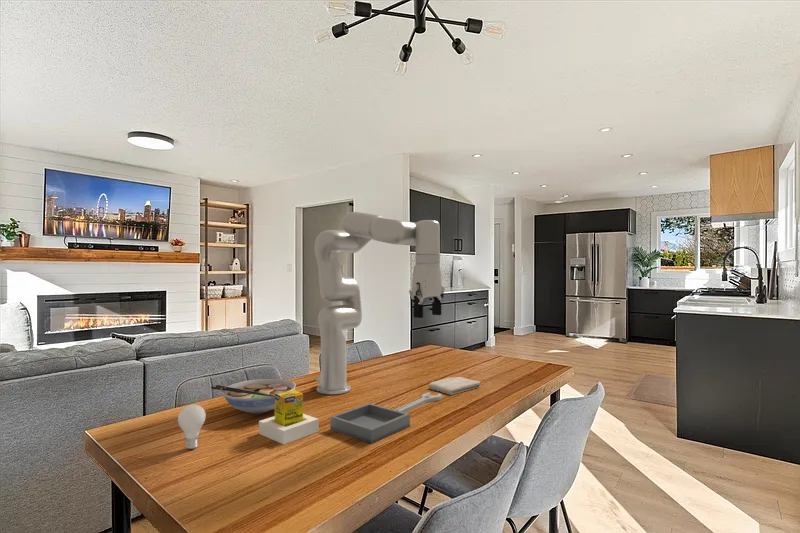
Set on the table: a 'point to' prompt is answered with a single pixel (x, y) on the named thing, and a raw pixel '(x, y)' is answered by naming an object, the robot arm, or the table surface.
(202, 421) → the lightbulb
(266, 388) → the ramen bowl
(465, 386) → the washcloth
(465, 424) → the table surface
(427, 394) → the adjustable wrench
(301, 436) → the socket collar
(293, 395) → the supplement box
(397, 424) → the tray
